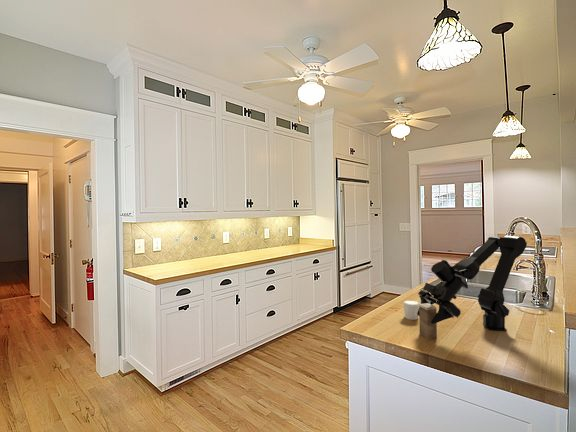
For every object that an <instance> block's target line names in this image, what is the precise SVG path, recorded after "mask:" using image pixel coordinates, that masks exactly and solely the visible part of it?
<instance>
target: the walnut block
mask: <svg viewBox="0 0 576 432" xmlns="http://www.w3.org/2000/svg"><path fill="white" fill-rule="evenodd" d="M437 310H438V309H437V306H435V305H434V304H432V305H431V304H429V303H424V304H421V303H419V316H418V319H419V323H418V324H419V325H418V326H419V335H421V336H423V337H424V338H425V339H427V340H429V339H430V340H431V339H437V338H438V334H437V333H438V332H437V328H438V327H437V325H438V323H435V324H432V323H431V321H432V319H433V318H434V316H435V315H436V314H437V312H438V311H437Z"/></svg>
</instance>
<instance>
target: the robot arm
mask: <svg viewBox="0 0 576 432" xmlns="http://www.w3.org/2000/svg"><path fill="white" fill-rule="evenodd" d="M527 245H528V243H527V241H526V239H525V238H524V237H523V236H515V235H505V236H503V237H501V236H497V235H491V236H488V238H487V240H486V241H485V242H483V244H481V246H479V248H477V249H476V250H475V251H474V252H473V253H472V254H471V255H470V256H469V257H466V258H464V259H461V260H460V261H458V262H456V263H455V264H454V265H451V264H450V263H449V262H448V261H447V260H446V259H442V260H440V261H438V262H436V263H435V264H433V265H432V266H431V272H432V273H433V274H434V275H435V276H436V277H437V278H438V280H440V281H441V282H442V285H441V284H436V285H434V284H431V283H428V282H425V284H424V286H423V289H421V290H420V291H419V292H418V293H417V294H418V296H419V299H420V304H424V303H429V304H431V305H434V304H436V305H438V311H437V314H436V315H435V316H434V318H433V319H432V321H431V323H432V324H435V323H437V324H438V323H439V322H442V321H446V320H448V319H451V318H452V319H454V318H455V317H456V318H459V317H460V315H462V313H461V309H460V308H459V307H458V306H456V304H455V303H454V302H451V301H452V300H453V299H454V300H456V299H457V296H456V295H457V294H458V292H459V291H460V290H461V289H462V288H464V289H469V285H468V281H466V280H473V279H474V278H475V277H476V276H477V275H478V274H479V272H480V267H481V266H482V264H483V263H485V262H486V261H487V260H488V259H489V258H490V257H491V256H492V255H493V254H494V253H495V252H496V251H498V249H499V252H500V257H499V259H498V262H497V264H496V267H495V269H494V272H493V274H492V277H491V280H490V282H489V285H488V286H487V287H485V288H483V287H481V289H480V290H479V294H478V295H477V302H478V305H479V306H480V309H481V310H482V311H484V314H482V316H483V317H482V321H483V322H482V324H483V326H484V327H486V328H487V330H490V331H505V332H506V331H507V330H508V329H507V328H506V327H505V326H506V321H505V320H506V319H505V318H506V317H507V316H509V314H510V309H509V308H508V307H507V306H506V305H505V304H504V303H505V295H504V289H505V286H506V284H507V281H508V279H509V276H510V274H511V271H512V269H513V266H514V263H515V260H516V259H518V257H519V258H520V256H521V255H522V254H524V252H525V250H526V248H527ZM463 279H466V280H463ZM417 315H418V317H419V310H418V313H417Z"/></svg>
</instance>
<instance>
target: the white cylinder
mask: <svg viewBox="0 0 576 432" xmlns="http://www.w3.org/2000/svg"><path fill="white" fill-rule="evenodd" d="M402 304H403V312H404V313H403V314H404V318H405V319H407V320H412V321H413V320H414V321H415V320H418V319H419V316H418V315H417V313H418V310H419V304H420V302H419V301H416V300H412V299H408V300H407V299H405V300H403V301H402Z"/></svg>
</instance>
